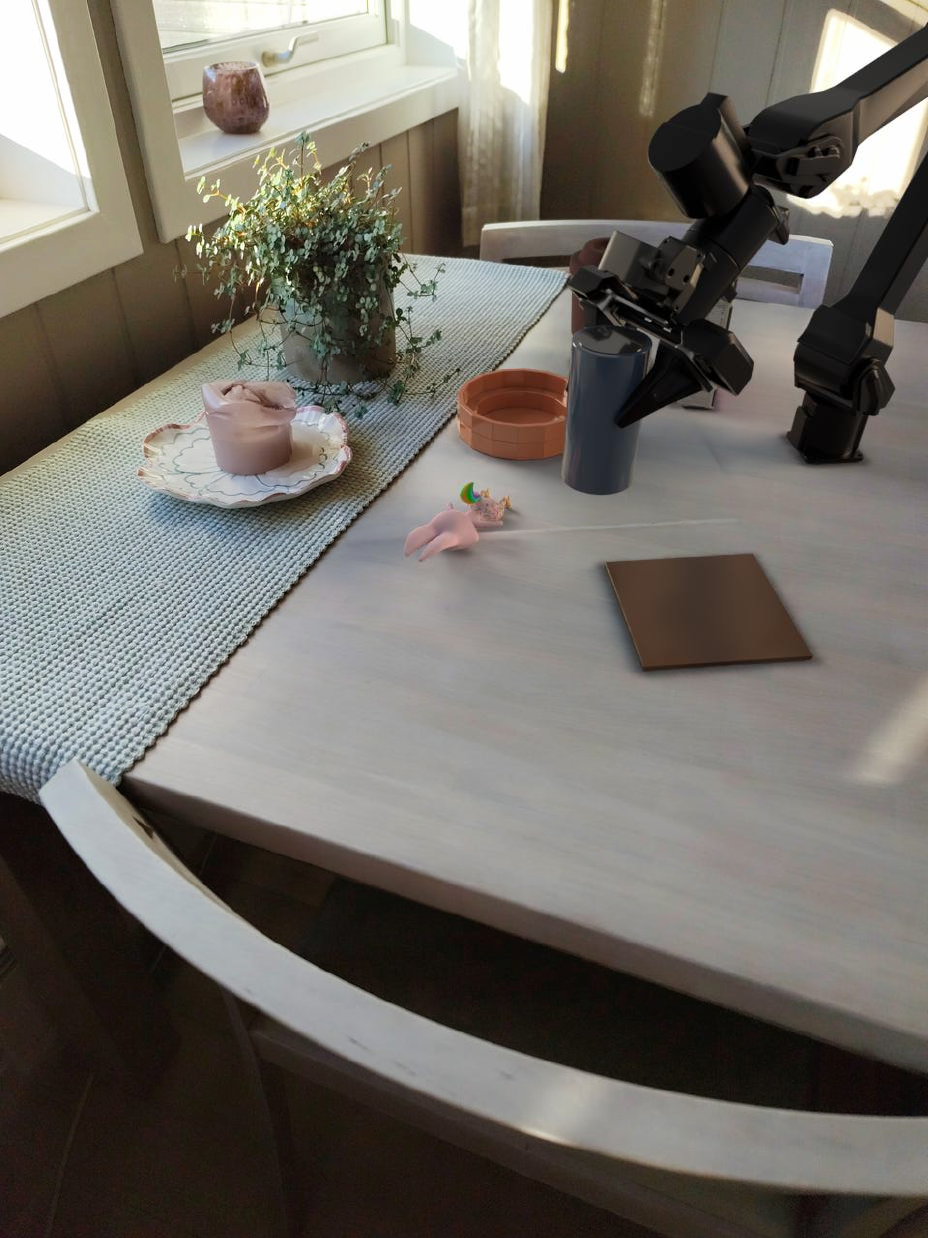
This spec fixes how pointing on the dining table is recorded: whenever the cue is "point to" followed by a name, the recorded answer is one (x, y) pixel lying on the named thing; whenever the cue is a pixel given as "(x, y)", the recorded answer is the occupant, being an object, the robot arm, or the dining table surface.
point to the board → (704, 612)
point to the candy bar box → (702, 398)
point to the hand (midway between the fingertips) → (592, 408)
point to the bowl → (514, 413)
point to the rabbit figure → (457, 524)
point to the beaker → (602, 408)
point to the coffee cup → (586, 257)
